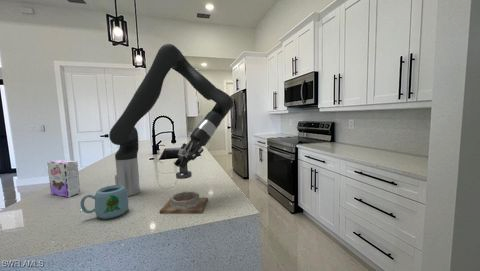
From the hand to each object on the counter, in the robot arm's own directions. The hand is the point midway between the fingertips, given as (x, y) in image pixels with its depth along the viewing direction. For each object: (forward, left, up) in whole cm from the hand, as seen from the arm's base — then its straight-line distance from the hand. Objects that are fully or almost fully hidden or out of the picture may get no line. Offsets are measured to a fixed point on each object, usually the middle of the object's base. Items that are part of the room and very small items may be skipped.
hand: (178, 166), depth 82 cm
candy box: (-63, +16, -17) cm, 67 cm away
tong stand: (+1, +1, -17) cm, 17 cm away
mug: (-27, -6, -17) cm, 32 cm away
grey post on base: (+1, +1, -5) cm, 5 cm away
